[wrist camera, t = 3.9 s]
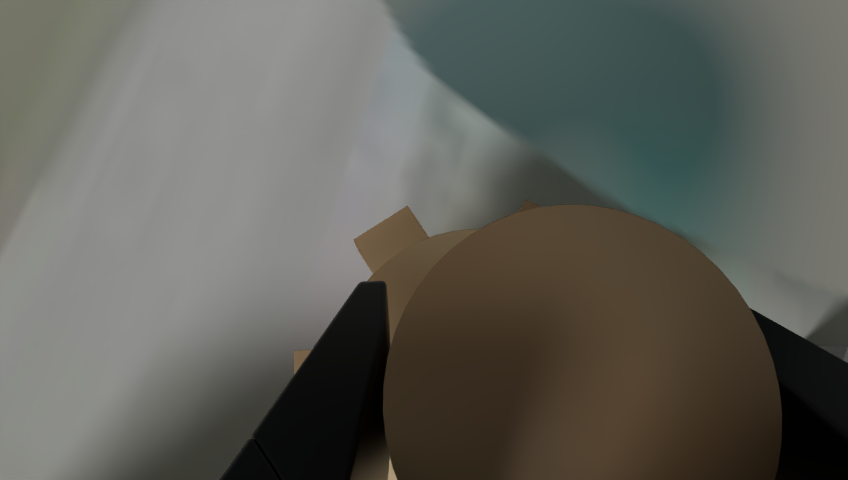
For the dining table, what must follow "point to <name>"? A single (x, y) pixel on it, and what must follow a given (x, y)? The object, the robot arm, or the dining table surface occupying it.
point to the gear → (568, 353)
